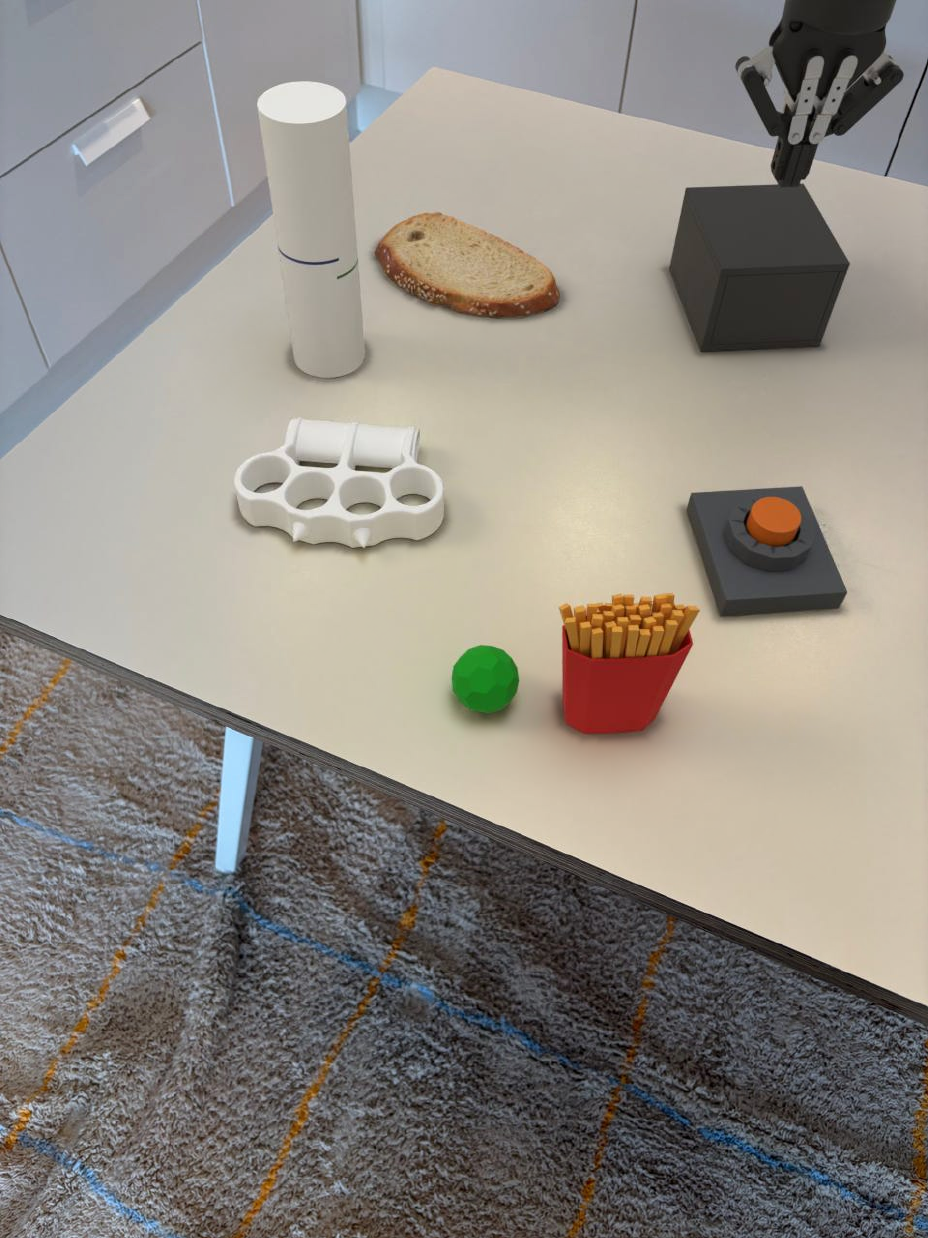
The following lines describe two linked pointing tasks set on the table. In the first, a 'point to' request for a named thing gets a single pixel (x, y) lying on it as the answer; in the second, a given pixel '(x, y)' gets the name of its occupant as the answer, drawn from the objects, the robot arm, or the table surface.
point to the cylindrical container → (314, 223)
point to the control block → (763, 556)
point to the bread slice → (465, 268)
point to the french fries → (622, 660)
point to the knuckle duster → (342, 484)
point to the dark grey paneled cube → (755, 267)
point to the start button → (773, 521)
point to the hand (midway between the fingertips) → (786, 181)
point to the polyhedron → (485, 679)
